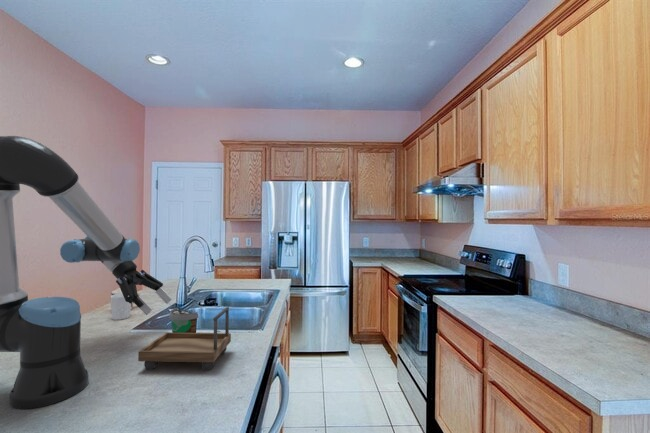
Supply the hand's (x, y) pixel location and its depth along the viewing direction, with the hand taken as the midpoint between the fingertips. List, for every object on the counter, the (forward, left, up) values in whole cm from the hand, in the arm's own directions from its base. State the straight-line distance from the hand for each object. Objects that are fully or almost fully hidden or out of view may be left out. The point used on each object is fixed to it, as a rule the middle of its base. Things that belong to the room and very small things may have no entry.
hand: (160, 306), depth 117 cm
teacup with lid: (+33, +36, -12) cm, 50 cm away
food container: (-2, -8, -12) cm, 14 cm away
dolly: (-19, -19, -11) cm, 29 cm away
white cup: (+21, +30, -12) cm, 38 cm away
